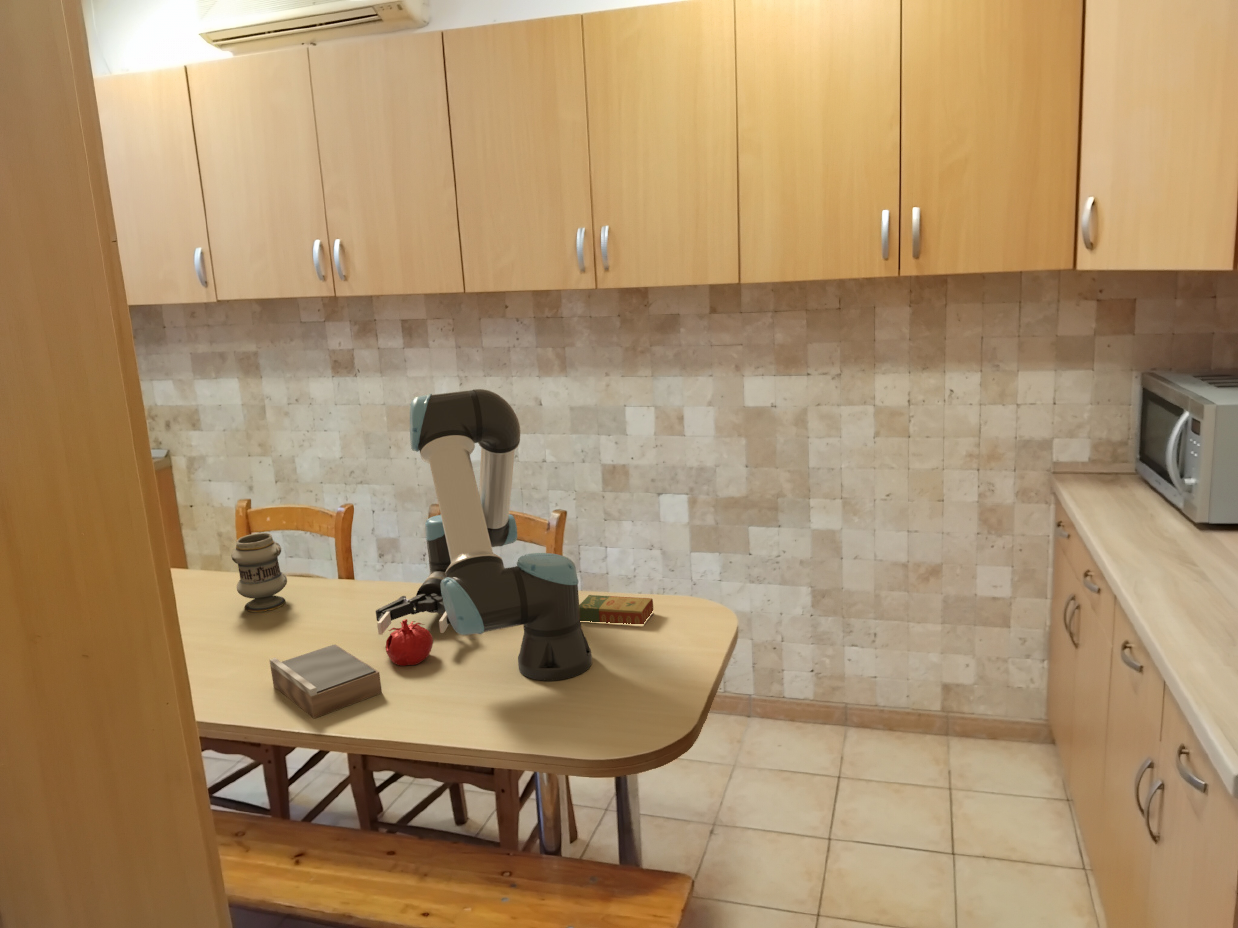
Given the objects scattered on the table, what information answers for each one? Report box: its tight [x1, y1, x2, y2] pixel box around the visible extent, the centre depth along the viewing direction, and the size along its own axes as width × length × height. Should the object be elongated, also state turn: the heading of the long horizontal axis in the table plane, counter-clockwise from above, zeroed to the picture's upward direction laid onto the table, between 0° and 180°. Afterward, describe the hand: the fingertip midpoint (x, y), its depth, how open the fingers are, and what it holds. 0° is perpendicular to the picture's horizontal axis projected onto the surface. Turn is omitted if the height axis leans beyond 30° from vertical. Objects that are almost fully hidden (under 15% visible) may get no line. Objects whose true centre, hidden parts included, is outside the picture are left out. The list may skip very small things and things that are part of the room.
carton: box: [579, 594, 654, 624], centre depth 217 cm, size 8×16×4 cm, turn 71°
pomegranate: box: [385, 618, 434, 667], centre depth 201 cm, size 10×10×9 cm
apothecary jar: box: [230, 532, 288, 613], centre depth 238 cm, size 12×12×18 cm
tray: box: [269, 644, 383, 719], centre depth 189 cm, size 20×14×6 cm
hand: (410, 627), depth 204 cm, fingers open, 13 cm apart
